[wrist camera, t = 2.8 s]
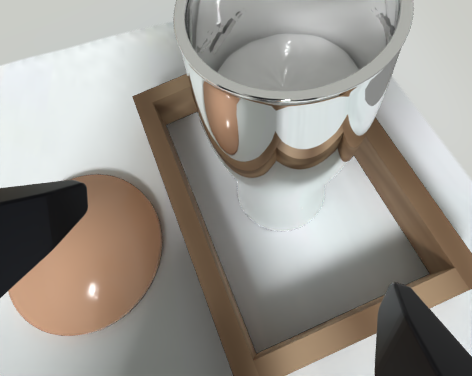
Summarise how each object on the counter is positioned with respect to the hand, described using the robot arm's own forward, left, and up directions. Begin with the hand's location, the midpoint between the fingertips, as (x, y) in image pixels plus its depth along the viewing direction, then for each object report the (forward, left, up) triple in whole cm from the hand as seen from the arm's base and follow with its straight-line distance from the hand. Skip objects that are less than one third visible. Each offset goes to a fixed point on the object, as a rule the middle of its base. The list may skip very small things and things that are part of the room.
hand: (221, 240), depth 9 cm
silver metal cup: (+3, +6, -13) cm, 15 cm away
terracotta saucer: (-11, +3, -13) cm, 17 cm away
